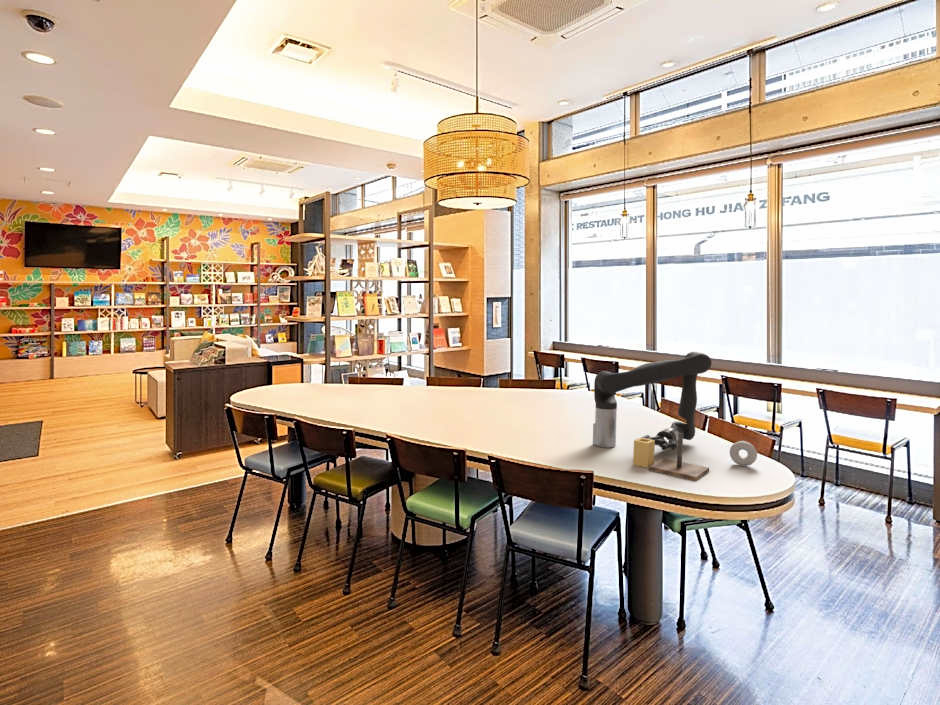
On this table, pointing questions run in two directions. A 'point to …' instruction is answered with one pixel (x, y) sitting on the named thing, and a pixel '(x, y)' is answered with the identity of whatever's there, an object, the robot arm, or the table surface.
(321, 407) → the table surface
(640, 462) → the bead
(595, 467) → the table surface
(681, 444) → the spindle stand
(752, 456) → the donut
